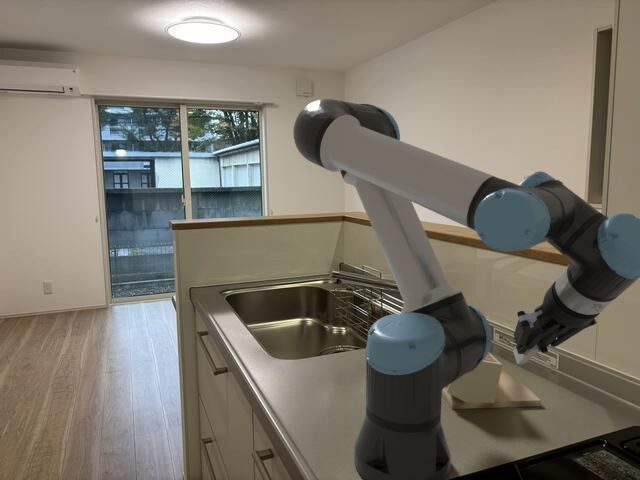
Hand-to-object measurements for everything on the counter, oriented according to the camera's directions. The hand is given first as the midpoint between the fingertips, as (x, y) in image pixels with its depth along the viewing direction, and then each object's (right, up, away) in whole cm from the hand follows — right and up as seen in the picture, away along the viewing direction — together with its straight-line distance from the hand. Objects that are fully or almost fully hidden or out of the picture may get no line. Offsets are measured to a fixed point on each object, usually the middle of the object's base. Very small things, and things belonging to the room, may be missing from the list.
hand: (518, 357), depth 91 cm
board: (-4, -10, +11) cm, 15 cm away
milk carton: (-8, -5, +2) cm, 10 cm away
